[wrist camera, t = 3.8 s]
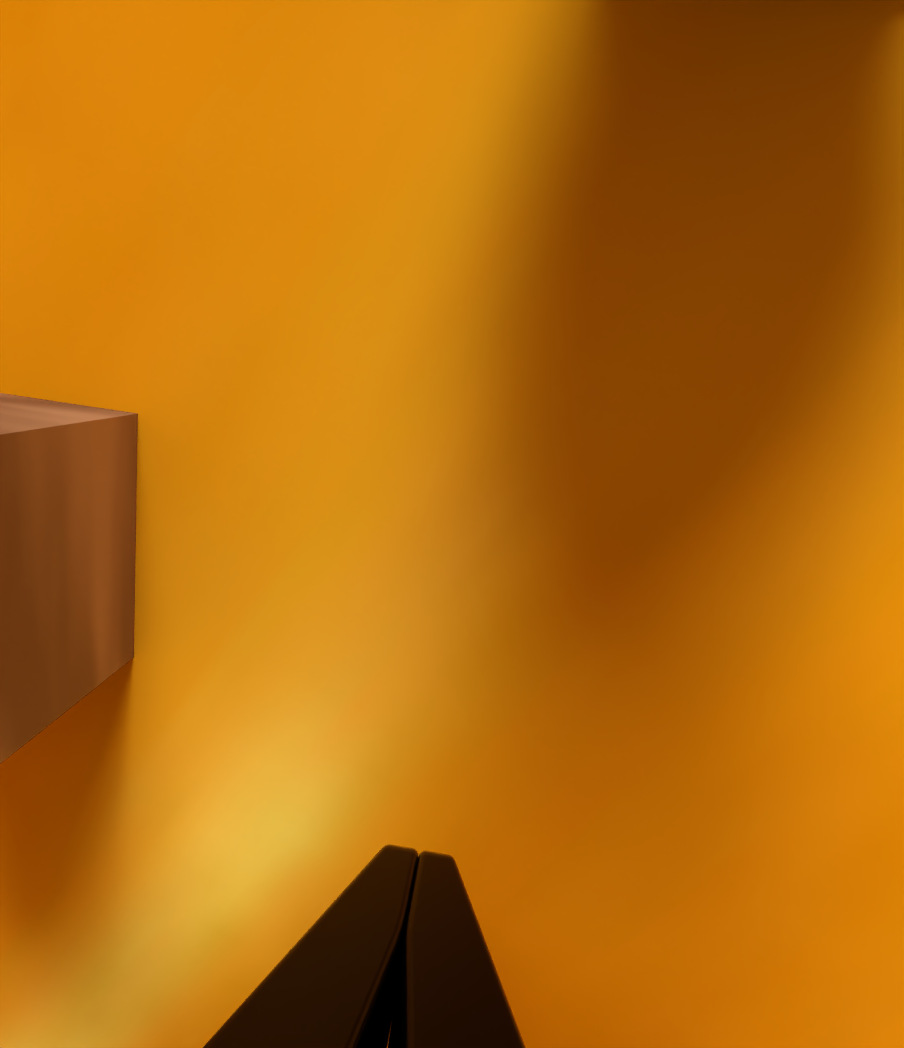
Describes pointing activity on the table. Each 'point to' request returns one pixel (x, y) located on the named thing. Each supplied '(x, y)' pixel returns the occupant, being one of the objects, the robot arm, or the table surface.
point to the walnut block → (63, 557)
